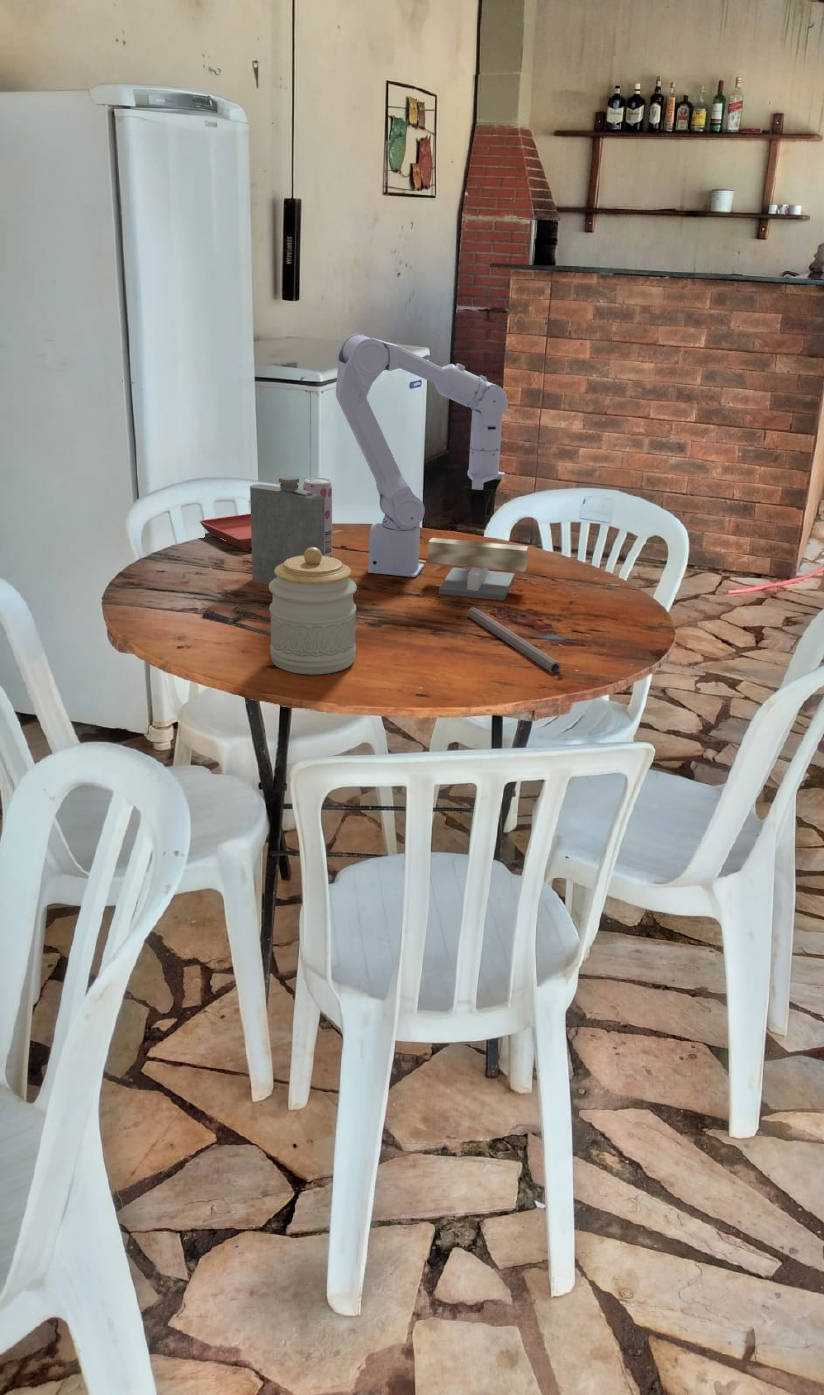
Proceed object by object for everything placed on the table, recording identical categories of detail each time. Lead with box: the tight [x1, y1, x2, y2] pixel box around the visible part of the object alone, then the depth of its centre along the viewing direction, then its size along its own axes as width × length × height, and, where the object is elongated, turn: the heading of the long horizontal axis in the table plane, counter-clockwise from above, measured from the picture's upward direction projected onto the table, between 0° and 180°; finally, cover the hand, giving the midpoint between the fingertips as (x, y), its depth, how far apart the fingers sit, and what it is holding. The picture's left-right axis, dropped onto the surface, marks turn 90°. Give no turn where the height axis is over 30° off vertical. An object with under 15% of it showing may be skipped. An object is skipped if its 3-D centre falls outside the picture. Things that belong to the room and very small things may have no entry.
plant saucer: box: [199, 513, 252, 550], centre depth 229 cm, size 18×18×3 cm
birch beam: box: [427, 537, 529, 573], centre depth 201 cm, size 18×3×4 cm, turn 78°
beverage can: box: [302, 477, 333, 557], centre depth 215 cm, size 6×6×15 cm
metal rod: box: [466, 606, 562, 674], centre depth 176 cm, size 2×27×2 cm, turn 25°
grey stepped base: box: [438, 567, 516, 601], centre depth 202 cm, size 12×14×4 cm
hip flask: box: [249, 475, 325, 585], centre depth 195 cm, size 16×4×20 cm, turn 57°
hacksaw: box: [201, 606, 271, 637], centre depth 180 cm, size 24×10×1 cm, turn 57°
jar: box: [268, 547, 358, 675], centre depth 162 cm, size 13×13×18 cm
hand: (480, 519), depth 211 cm, fingers open, 7 cm apart
